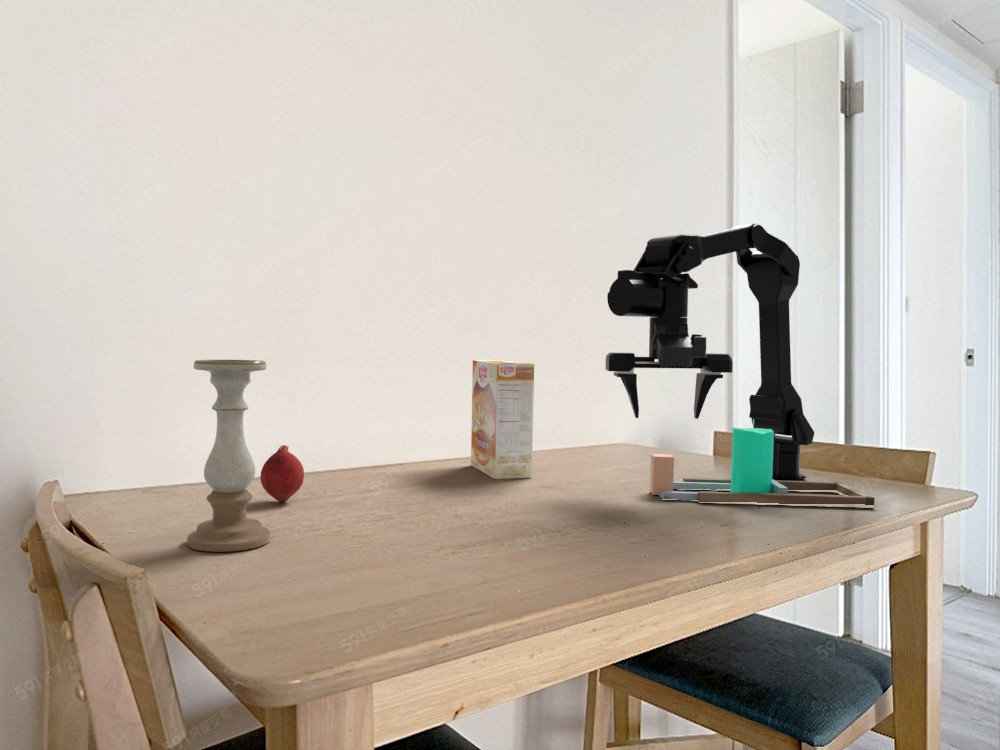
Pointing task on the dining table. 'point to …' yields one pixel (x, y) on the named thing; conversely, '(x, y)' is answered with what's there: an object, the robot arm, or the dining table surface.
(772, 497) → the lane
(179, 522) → the dining table surface
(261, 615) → the dining table surface
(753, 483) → the candle
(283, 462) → the onion
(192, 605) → the dining table surface
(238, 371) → the candle holder
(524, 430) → the coffeecake box
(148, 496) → the dining table surface
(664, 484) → the frame
